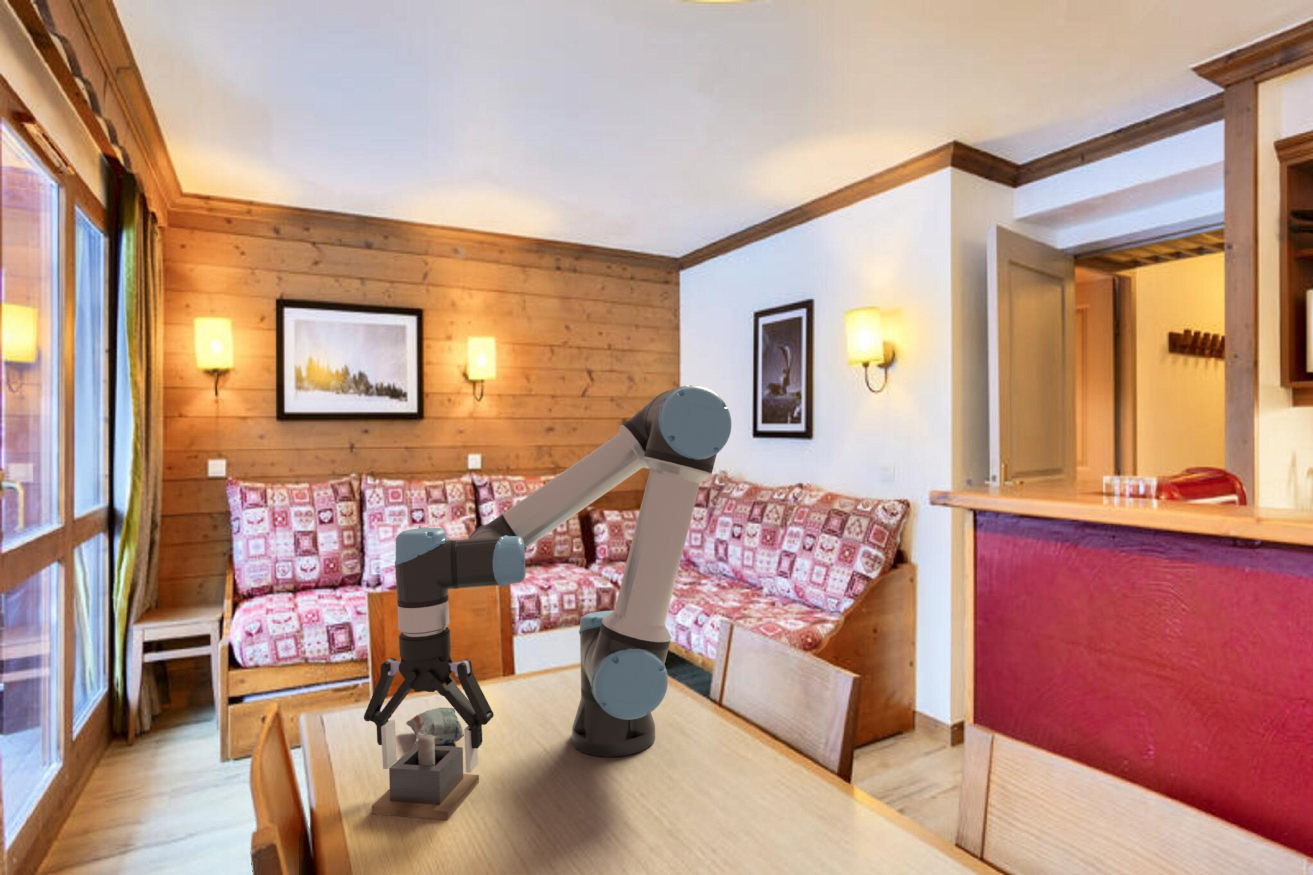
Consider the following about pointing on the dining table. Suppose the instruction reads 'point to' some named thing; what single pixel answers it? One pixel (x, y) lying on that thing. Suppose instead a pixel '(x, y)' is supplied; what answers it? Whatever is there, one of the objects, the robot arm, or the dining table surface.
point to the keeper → (427, 810)
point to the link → (426, 776)
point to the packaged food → (437, 725)
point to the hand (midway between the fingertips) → (430, 766)
